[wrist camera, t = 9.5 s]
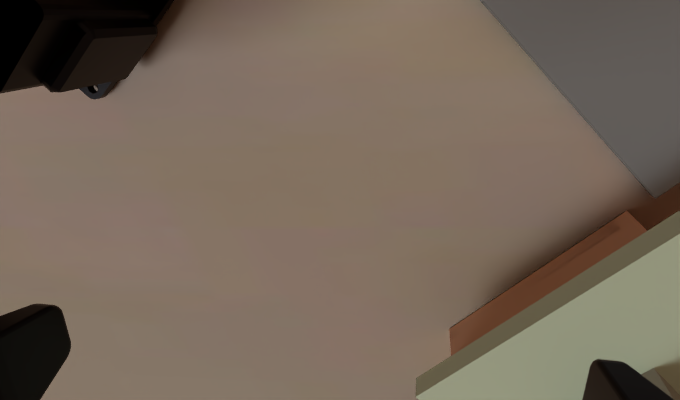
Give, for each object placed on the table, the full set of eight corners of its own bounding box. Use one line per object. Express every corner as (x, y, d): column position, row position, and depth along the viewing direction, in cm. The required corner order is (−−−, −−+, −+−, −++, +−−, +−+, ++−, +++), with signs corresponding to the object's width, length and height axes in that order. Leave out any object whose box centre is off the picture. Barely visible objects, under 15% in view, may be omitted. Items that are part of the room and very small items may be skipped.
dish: (449, 328, 22) (452, 383, 18) (626, 210, 18) (668, 252, 15) (571, 448, 23) (595, 518, 20) (758, 358, 20) (823, 425, 16)
